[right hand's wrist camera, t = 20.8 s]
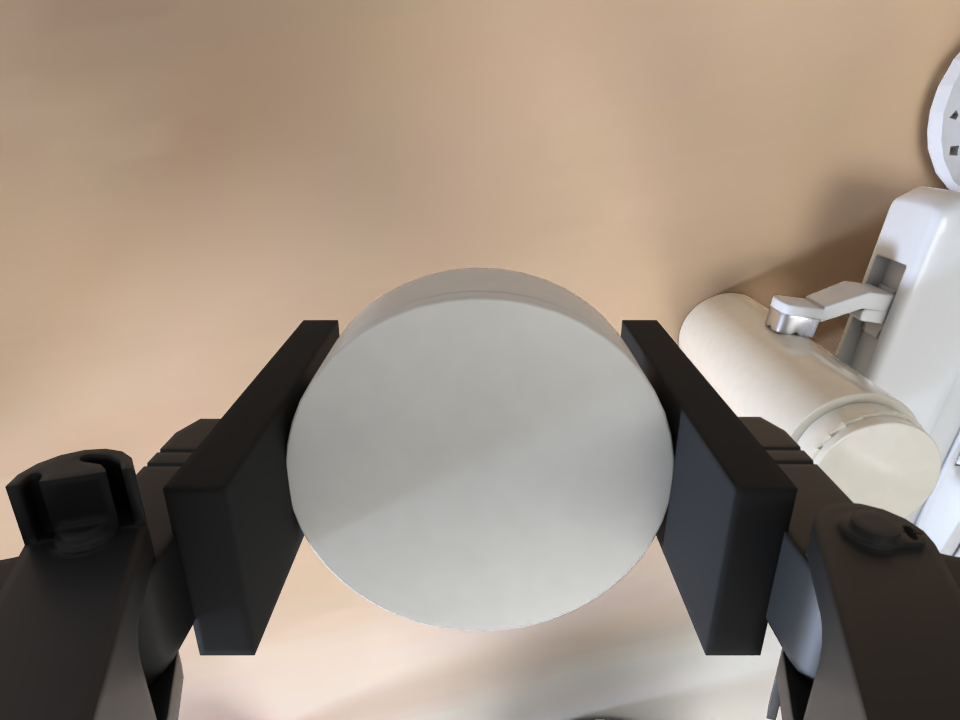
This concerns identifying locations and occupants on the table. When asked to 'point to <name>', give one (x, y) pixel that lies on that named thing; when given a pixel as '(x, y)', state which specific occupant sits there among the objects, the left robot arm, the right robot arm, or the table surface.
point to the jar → (814, 403)
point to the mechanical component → (946, 128)
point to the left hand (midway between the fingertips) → (752, 378)
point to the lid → (480, 453)
